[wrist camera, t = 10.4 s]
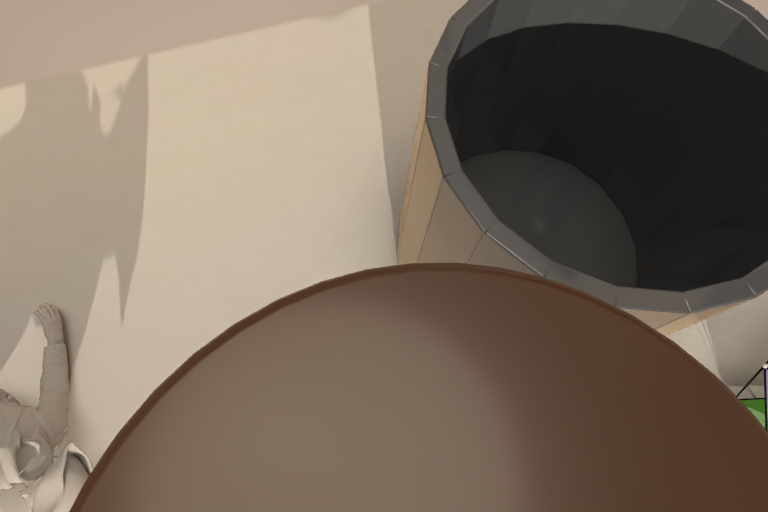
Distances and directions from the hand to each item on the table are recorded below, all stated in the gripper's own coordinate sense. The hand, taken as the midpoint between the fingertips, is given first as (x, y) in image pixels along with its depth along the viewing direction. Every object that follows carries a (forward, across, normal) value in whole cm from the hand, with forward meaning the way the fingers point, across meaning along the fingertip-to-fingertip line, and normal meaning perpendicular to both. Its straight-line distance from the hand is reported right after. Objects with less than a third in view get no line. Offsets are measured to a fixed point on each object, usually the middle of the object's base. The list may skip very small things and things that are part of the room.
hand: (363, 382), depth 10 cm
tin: (+12, -7, +4) cm, 15 cm away
